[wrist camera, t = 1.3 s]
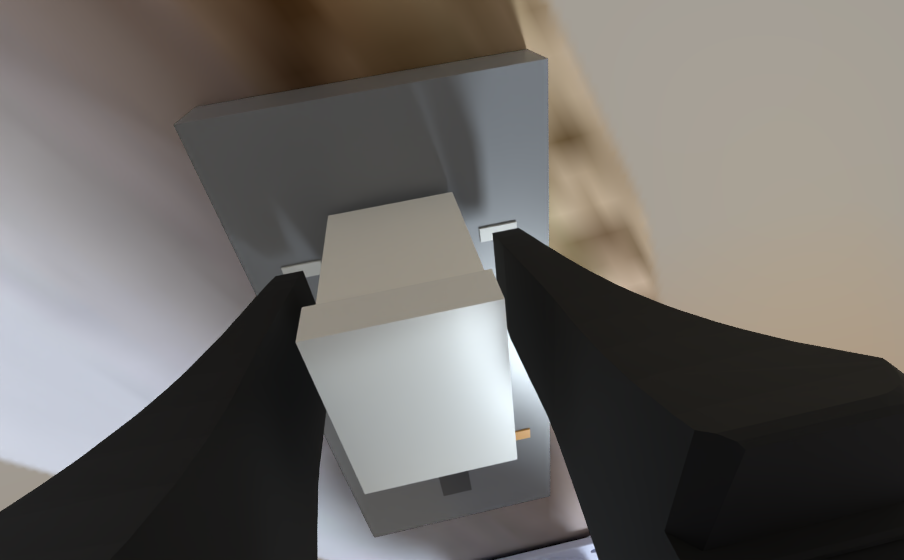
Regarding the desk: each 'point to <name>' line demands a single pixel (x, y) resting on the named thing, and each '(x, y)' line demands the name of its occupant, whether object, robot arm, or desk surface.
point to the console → (385, 182)
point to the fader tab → (410, 344)
